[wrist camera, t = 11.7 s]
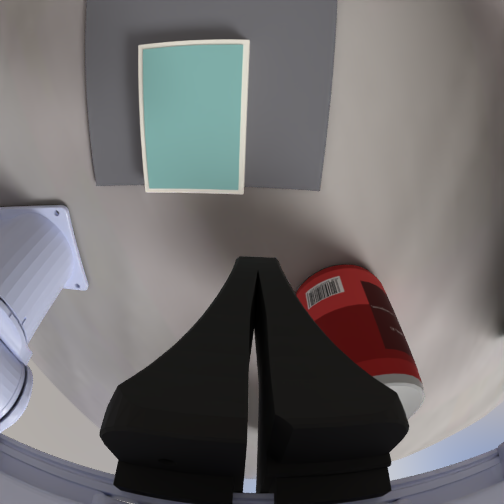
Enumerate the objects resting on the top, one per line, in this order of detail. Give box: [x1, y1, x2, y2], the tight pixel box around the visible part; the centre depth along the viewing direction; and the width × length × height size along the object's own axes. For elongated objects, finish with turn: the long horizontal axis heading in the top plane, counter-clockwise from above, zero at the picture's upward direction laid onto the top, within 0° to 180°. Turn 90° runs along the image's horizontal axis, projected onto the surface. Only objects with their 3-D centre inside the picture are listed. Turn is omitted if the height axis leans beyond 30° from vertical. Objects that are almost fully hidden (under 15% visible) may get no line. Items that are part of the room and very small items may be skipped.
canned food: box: [296, 265, 425, 420], centre depth 21 cm, size 8×8×11 cm
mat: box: [85, 0, 337, 191], centre depth 16 cm, size 15×14×1 cm
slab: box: [138, 39, 250, 194], centre depth 17 cm, size 9×2×6 cm
